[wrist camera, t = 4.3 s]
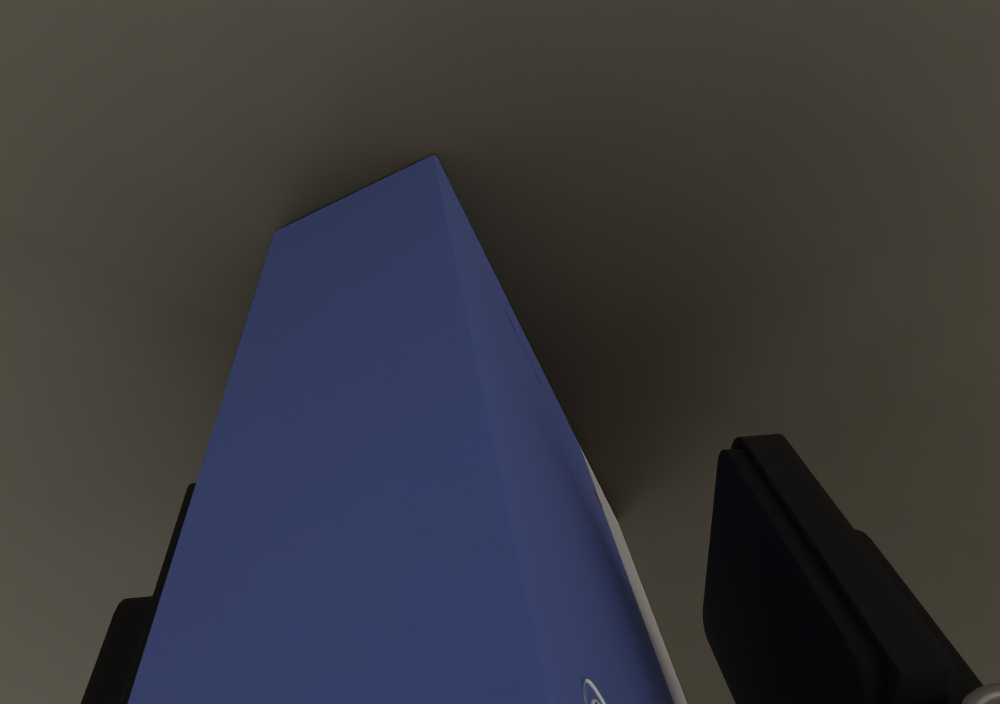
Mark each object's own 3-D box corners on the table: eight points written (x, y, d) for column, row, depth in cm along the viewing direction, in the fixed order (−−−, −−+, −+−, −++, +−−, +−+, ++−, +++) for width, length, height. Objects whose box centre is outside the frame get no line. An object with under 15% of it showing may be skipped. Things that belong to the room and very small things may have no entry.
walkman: (270, 231, 14) (-94, 1368, 3) (436, 151, 14) (647, 1088, 3) (487, 584, 17) (658, 1680, 7) (621, 526, 17) (1021, 1569, 6)
